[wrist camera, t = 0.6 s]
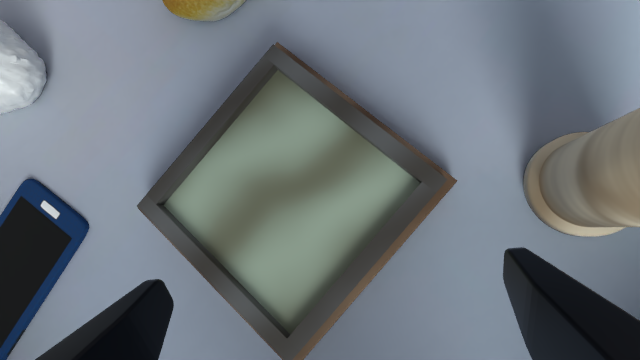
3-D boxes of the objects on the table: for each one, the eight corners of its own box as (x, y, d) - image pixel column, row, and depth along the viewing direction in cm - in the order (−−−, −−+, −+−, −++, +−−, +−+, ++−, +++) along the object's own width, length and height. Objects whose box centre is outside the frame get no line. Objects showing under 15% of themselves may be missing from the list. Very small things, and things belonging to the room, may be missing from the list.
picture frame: (452, 183, 23) (460, 178, 20) (299, 362, 23) (288, 377, 21) (283, 52, 26) (272, 34, 24) (151, 208, 26) (127, 206, 24)
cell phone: (96, 225, 28) (88, 225, 27) (-4, 380, 27) (-15, 384, 27) (35, 175, 29) (26, 174, 28) (-60, 321, 29) (-72, 323, 28)
